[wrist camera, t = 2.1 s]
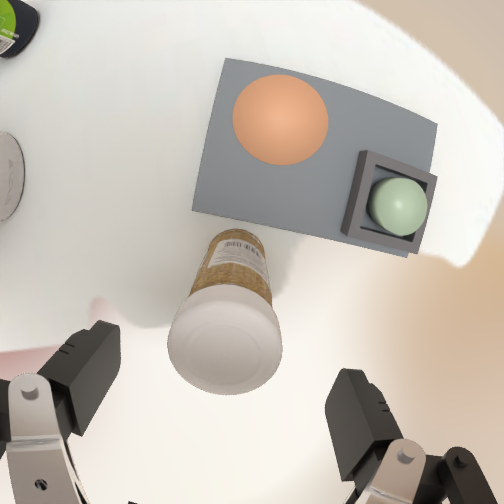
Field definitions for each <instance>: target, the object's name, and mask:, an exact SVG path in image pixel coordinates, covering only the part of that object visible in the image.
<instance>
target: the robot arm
mask: <svg viewBox="0 0 504 504" xmlns="http://www.w3.org/2000/svg"><path fill="white" fill-rule="evenodd" d="M23 182H24V165H23V158H22V153H21V150H20V148H19V145H18V143H17V142H16V140H15V139H14V138H13V137H12V136H11V135H9V134H7V133H0V221H2V220H4V219H6V218H8V217H9V216H10V215H11V214H12V213H13V212H14V210H15V209H16V207H17V205H18V202H19V200H20V197H21V193H22V189H23ZM120 363H121V352H120V328H119V326H118V325H114V324H111V323H108V322H104V321H101V320H99V321H97V322H96V323H95V324H94V325H93V327H92V328H91V329H90V330H89V331H88V330H85V329H83V330H81V331H79V332H76V333H74V334H72V335H71V336H70V338H69V339H68V340H67V341H66V342H65V344H63V345H62V346H61V347H60V348H59V351H56V352H55V354H54V355H53V356H52V357H51V358H50V359H49V360H48V361H47V362H46V364H45V365H44V366H43V367H42V368H41V369H40V370H39V371H38V372H37V374H33V373H25V374H21V375H18V376H17V377H15V378H14V379H13V380H12V381H7V380H3V379H0V459H1V457H2V456H3V454H4V452H5V450H6V452H7V459H8V467H9V473H10V479H11V484H12V488H13V493H14V497H15V502H16V504H90V503H89V500H88V498H87V496H86V494H85V492H84V489H83V487H82V485H81V482H80V479H79V476H78V473H77V470H76V467H75V464H74V461H73V458H72V455H71V451H70V448H69V444H68V441H67V439H68V437H69V435H70V434H71V432H72V433H74V434H76V435H79V436H81V437H82V436H83V434H84V432H85V431H86V429H87V427H88V425H89V423H90V421H91V420H92V418H93V416H94V414H95V413H96V411H97V409H98V407H99V405H100V404H101V402H102V400H103V398H104V397H105V395H106V393H107V392H108V390H109V388H110V386H111V385H112V383H113V381H114V379H115V378H116V376H117V374H118V372H119V368H120ZM325 415H326V419H327V423H328V427H329V431H330V435H331V439H332V443H333V447H334V451H335V455H336V459H337V463H338V468H339V472H340V476H341V480H342V481H354V482H355V487H354V488H353V489H352V490H351V492H350V493H349V495H348V496H347V498H346V500H345V501H344V503H343V504H442V501H444V500H445V499H446V498H447V497H448V499H449V501H450V504H498V503H497V501H496V499H495V497H494V495H493V493H492V491H491V489H490V486H489V485H488V482H487V481H486V479H485V476H484V474H483V472H482V470H481V468H480V466H479V465H478V463H477V461H476V459H475V457H474V455H473V454H472V453H471V452H470V451H468V450H466V449H465V448H462V447H452V448H450V449H449V450H448V451H447V453H445V455H444V456H443V457H442V456H433V455H426V454H425V452H424V450H423V449H422V448H421V446H420V445H418V444H417V443H416V442H414V441H411V440H408V439H404V438H403V436H402V433H401V431H400V429H399V427H398V425H397V423H396V421H395V419H394V417H393V415H392V413H391V412H390V408H389V407H388V404H386V401H385V399H384V397H383V394H382V392H381V391H380V390H379V389H378V388H377V387H376V386H375V385H373V384H372V383H371V384H370V383H369V382H368V380H367V378H366V376H365V374H364V372H363V371H362V370H357V369H345V368H343V369H341V370H340V372H339V374H338V376H337V378H336V380H335V383H334V385H333V387H332V389H331V391H330V393H329V396H328V397H327V400H326V404H325ZM128 504H137V503H133V502H130V501H129V502H128Z"/></svg>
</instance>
